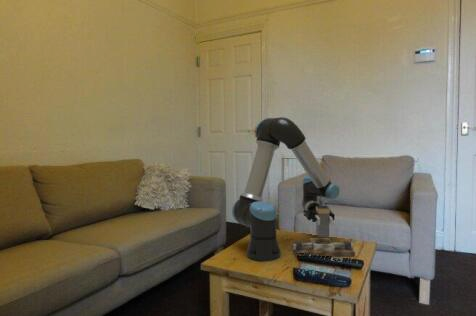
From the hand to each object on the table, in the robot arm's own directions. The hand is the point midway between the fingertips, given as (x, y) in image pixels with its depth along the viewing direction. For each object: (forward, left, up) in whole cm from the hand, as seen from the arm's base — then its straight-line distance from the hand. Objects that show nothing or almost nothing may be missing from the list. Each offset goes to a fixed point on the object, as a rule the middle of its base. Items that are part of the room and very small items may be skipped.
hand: (325, 221), depth 149 cm
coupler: (0, +5, -7) cm, 9 cm away
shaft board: (0, +5, -15) cm, 16 cm away
